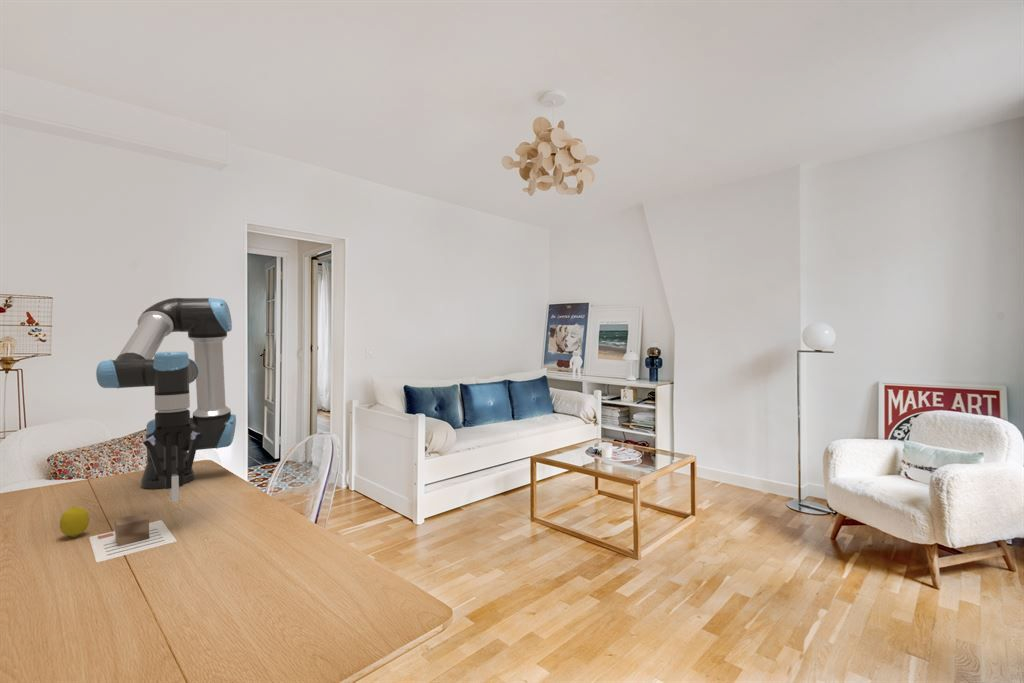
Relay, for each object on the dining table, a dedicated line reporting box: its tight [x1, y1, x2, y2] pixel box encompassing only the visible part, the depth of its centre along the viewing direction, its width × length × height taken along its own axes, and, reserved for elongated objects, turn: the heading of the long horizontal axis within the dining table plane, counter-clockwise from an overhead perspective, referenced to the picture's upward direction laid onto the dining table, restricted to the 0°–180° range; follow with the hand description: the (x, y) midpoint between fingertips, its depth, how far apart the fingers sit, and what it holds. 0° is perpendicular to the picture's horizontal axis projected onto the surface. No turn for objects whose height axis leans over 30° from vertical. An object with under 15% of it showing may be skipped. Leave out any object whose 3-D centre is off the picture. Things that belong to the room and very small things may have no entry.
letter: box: [89, 519, 177, 563], centre depth 119 cm, size 15×20×1 cm
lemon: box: [59, 505, 90, 538], centre depth 121 cm, size 6×6×8 cm
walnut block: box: [114, 512, 150, 546], centre depth 119 cm, size 6×6×5 cm
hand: (174, 499), depth 125 cm, fingers closed
